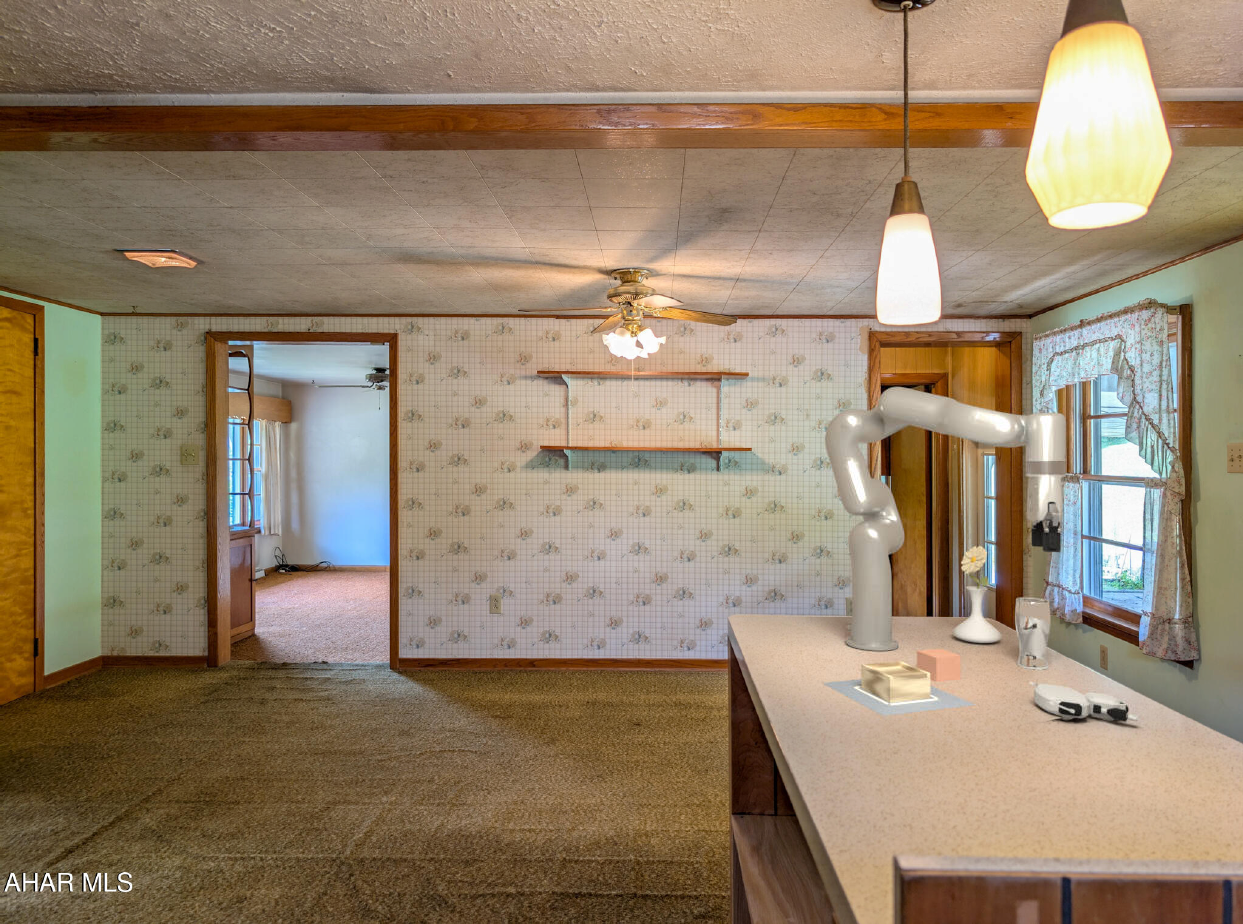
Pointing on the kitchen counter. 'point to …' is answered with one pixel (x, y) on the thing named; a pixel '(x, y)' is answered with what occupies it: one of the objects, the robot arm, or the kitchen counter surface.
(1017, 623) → the beer glass
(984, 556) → the flower in vase
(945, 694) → the board
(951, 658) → the terracotta cube
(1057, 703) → the robot toy
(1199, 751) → the kitchen counter surface
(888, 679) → the maple base
